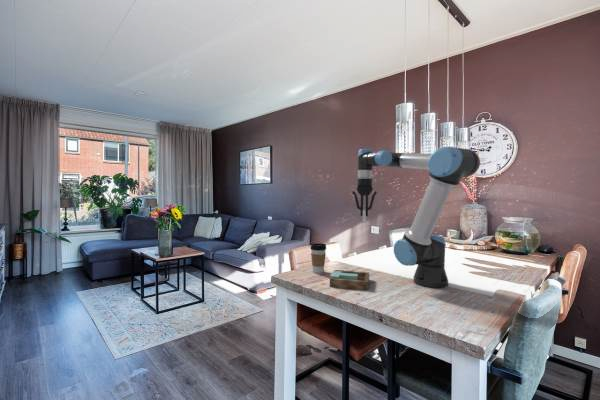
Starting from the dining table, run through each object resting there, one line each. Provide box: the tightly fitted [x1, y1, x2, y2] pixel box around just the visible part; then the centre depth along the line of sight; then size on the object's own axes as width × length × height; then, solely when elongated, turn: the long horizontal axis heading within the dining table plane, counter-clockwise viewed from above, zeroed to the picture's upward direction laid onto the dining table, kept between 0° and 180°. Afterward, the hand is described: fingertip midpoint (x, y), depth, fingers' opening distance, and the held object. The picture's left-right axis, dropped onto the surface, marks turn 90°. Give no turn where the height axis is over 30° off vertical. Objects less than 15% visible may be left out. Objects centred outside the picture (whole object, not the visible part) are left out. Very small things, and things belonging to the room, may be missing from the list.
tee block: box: [329, 270, 358, 280], centre depth 144 cm, size 12×10×4 cm
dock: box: [329, 269, 370, 291], centre depth 143 cm, size 17×16×4 cm
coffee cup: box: [310, 242, 327, 275], centre depth 161 cm, size 8×8×15 cm
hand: (364, 222), depth 163 cm, fingers closed
